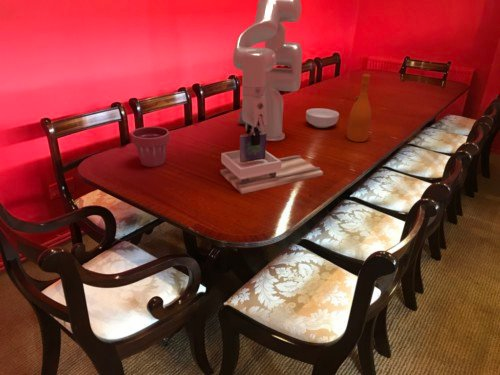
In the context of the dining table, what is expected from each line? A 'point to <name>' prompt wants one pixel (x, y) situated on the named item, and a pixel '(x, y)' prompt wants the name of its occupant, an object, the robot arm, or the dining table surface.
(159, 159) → the plant pot
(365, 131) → the wine bottle
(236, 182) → the rail board
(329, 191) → the dining table surface
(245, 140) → the flask
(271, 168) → the pink rimmed tray
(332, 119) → the cereal bowl
